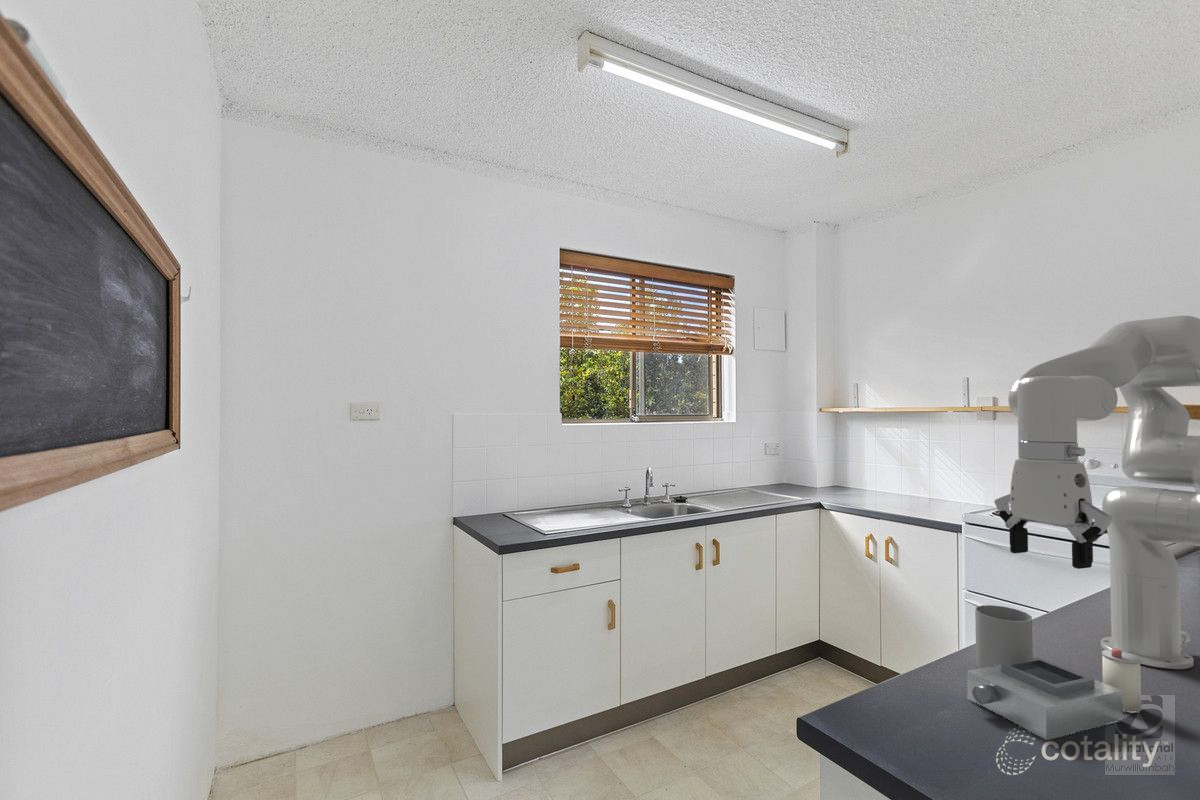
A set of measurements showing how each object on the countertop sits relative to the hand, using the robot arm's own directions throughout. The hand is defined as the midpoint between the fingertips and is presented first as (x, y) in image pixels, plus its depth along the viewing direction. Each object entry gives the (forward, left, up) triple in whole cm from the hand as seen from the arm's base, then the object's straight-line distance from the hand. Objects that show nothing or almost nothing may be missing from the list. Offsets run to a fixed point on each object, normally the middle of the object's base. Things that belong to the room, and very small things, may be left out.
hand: (1049, 559), depth 91 cm
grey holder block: (+6, +2, -22) cm, 23 cm away
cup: (-3, -10, -22) cm, 25 cm away
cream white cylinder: (-8, +5, -22) cm, 24 cm away
